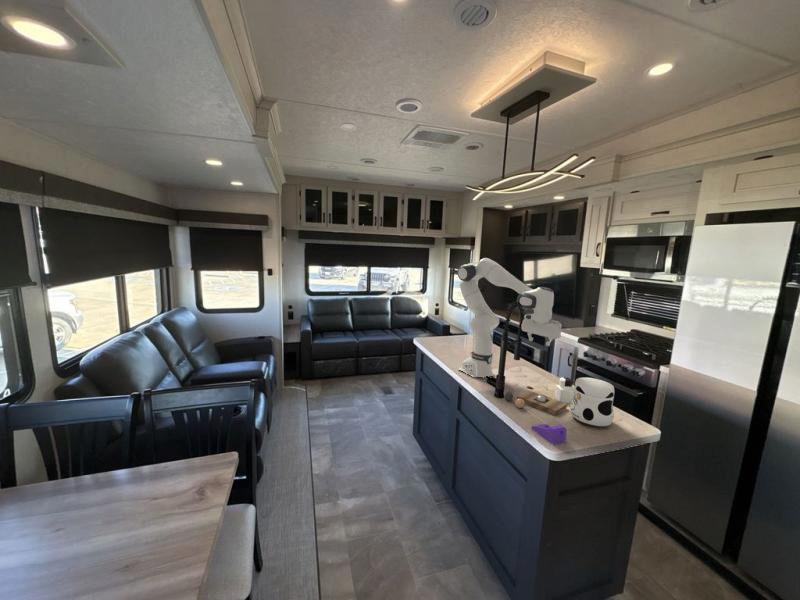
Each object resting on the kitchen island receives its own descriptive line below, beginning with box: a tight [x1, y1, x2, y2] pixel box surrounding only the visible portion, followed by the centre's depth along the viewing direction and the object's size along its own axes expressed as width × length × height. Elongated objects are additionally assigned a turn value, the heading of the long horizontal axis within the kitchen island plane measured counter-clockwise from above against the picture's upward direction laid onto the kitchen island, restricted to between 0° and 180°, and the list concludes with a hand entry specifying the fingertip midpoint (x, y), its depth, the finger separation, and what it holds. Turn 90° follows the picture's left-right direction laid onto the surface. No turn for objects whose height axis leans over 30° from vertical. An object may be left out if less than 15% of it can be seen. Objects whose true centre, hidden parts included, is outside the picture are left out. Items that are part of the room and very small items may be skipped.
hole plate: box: [516, 389, 568, 416], centre depth 163 cm, size 20×12×2 cm, turn 40°
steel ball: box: [536, 395, 546, 404], centre depth 163 cm, size 4×4×4 cm
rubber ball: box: [504, 391, 514, 401], centre depth 167 cm, size 4×4×4 cm
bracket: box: [531, 423, 568, 445], centre depth 135 cm, size 12×7×7 cm, turn 17°
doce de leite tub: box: [569, 377, 615, 428], centre depth 147 cm, size 17×17×18 cm
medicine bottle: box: [554, 376, 574, 404], centre depth 168 cm, size 7×7×12 cm
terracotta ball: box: [514, 398, 526, 409], centre depth 159 cm, size 4×4×4 cm
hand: (539, 343), depth 171 cm, fingers open, 8 cm apart
